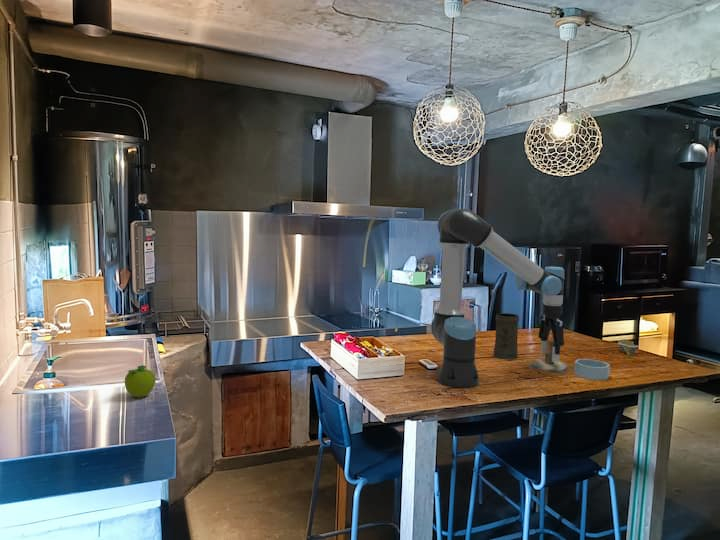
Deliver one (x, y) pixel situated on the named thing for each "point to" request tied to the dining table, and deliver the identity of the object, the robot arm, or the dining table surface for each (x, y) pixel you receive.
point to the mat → (549, 371)
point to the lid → (549, 361)
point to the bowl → (591, 369)
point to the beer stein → (506, 336)
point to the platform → (627, 347)
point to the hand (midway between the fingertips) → (549, 358)
